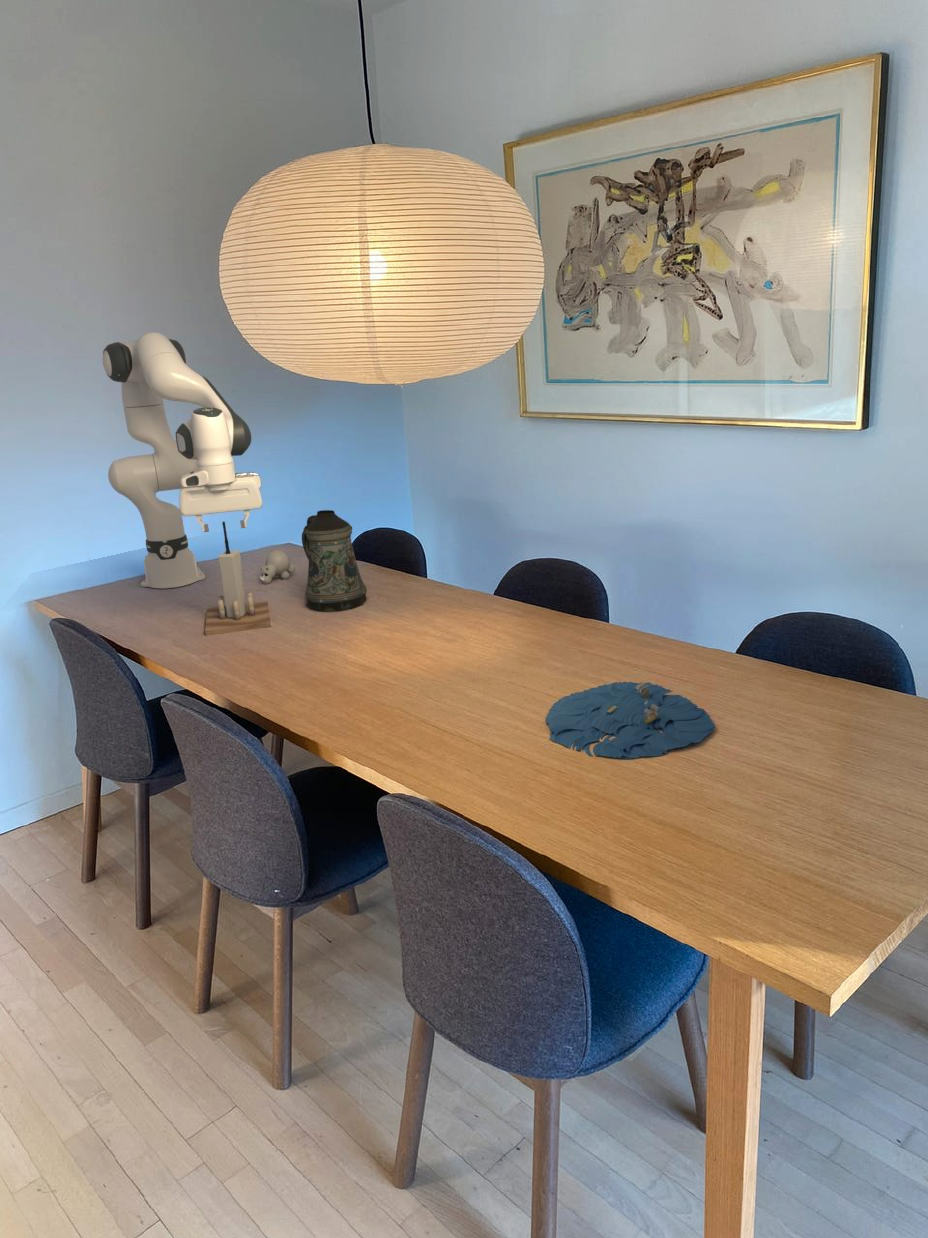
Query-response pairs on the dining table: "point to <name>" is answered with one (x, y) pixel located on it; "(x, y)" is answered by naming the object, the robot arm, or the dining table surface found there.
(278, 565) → the round bodied animal figurine
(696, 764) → the dining table surface
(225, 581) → the vintage mobile phone
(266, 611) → the pin dock
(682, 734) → the decorative plate
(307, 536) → the beer stein
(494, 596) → the dining table surface
